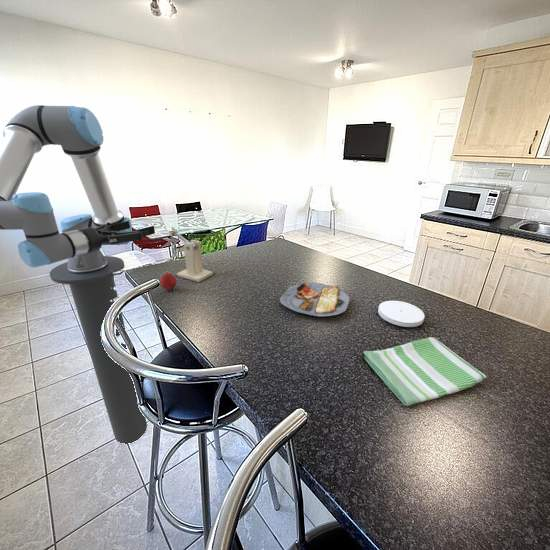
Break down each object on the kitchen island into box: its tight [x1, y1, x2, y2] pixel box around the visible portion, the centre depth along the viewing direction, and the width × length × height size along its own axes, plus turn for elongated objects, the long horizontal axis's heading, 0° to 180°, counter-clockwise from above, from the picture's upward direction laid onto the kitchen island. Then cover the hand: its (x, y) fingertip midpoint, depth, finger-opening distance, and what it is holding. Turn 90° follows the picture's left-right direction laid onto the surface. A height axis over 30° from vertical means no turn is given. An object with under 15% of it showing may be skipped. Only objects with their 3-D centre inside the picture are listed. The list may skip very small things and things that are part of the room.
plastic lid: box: [377, 300, 425, 328], centre depth 96 cm, size 14×14×2 cm
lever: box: [168, 226, 197, 250], centre depth 120 cm, size 14×4×4 cm, turn 62°
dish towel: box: [362, 336, 487, 407], centre depth 73 cm, size 18×23×3 cm
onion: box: [159, 271, 177, 292], centre depth 109 cm, size 6×6×8 cm
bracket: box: [176, 239, 214, 283], centre depth 121 cm, size 12×9×15 cm
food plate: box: [279, 282, 351, 317], centre depth 104 cm, size 25×23×4 cm
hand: (141, 227), depth 107 cm, fingers open, 13 cm apart
